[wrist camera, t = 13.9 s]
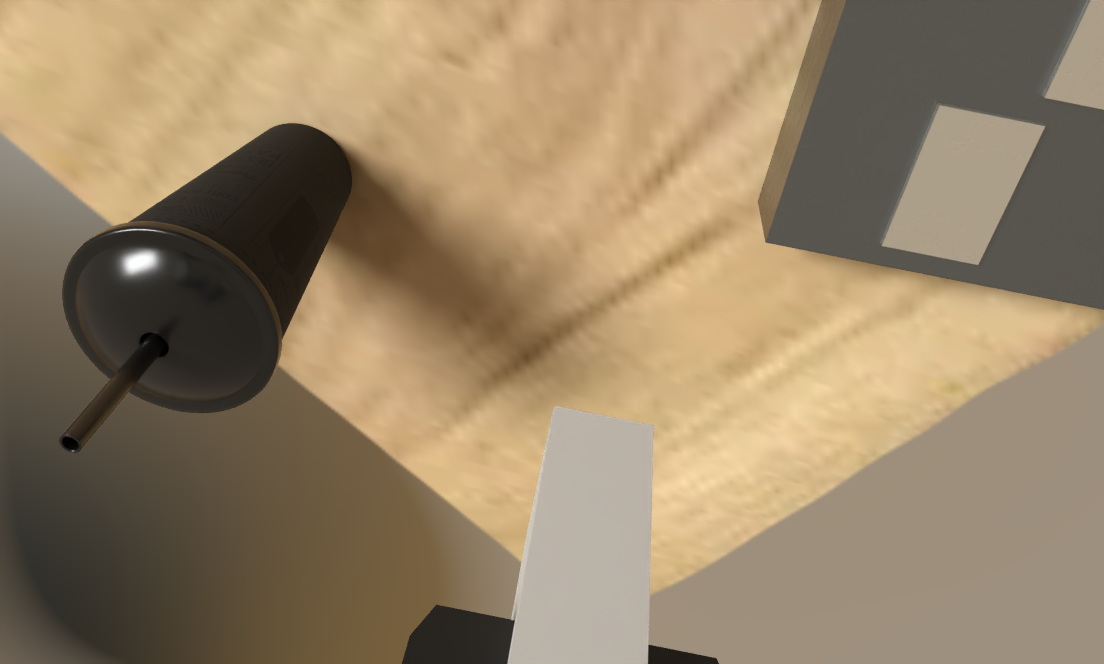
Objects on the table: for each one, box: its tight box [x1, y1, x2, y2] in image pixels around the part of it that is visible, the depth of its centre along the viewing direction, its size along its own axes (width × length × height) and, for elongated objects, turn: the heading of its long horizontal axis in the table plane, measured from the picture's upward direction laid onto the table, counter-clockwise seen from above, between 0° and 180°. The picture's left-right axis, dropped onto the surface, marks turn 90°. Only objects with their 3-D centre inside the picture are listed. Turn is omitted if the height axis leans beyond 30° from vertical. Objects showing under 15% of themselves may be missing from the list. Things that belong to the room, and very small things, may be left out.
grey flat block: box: [758, 0, 1104, 310], centre depth 34 cm, size 20×15×5 cm
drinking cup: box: [59, 123, 352, 453], centre depth 35 cm, size 8×8×20 cm
